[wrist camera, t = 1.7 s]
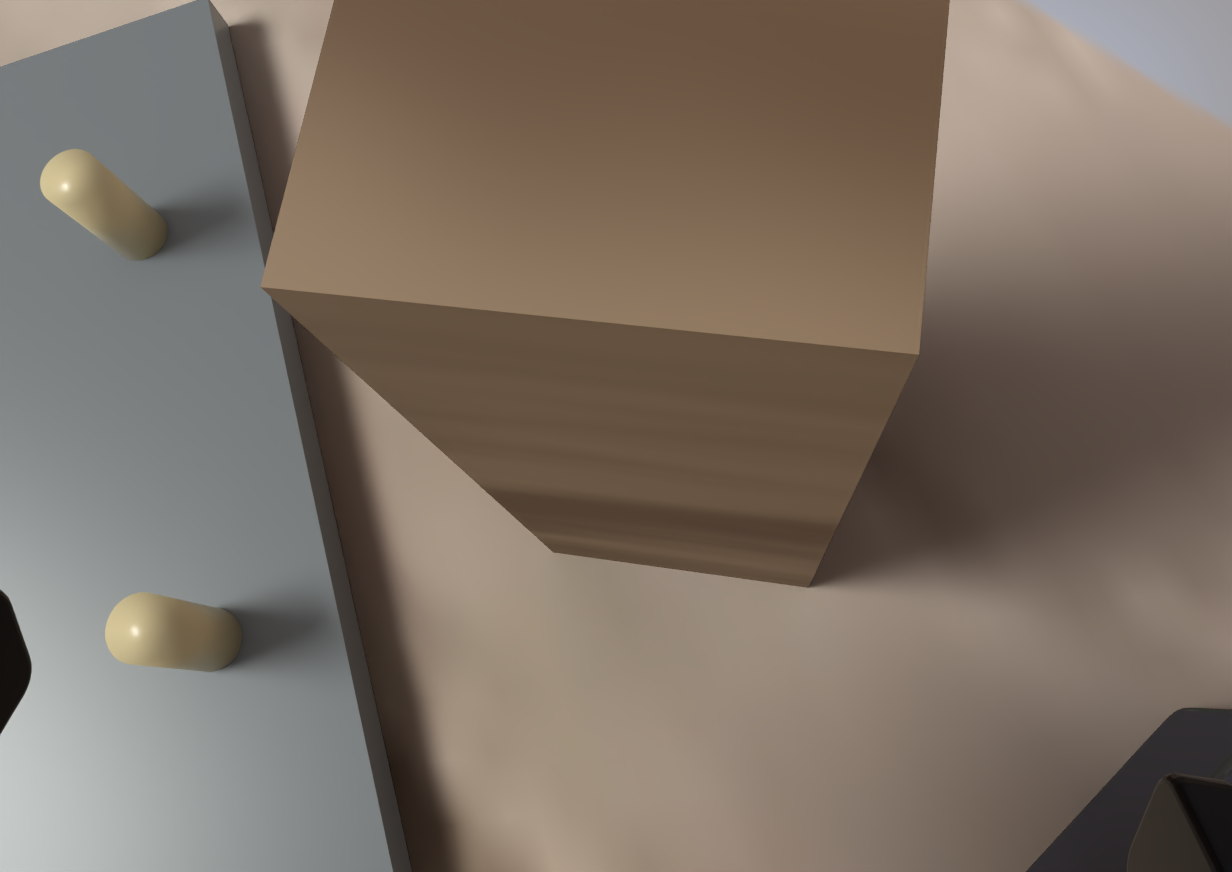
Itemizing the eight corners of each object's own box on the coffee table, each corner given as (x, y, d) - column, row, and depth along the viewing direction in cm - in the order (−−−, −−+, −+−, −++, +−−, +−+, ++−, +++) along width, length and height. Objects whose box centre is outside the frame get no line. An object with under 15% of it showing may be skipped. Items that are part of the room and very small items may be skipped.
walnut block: (808, 587, 20) (918, 355, 7) (553, 552, 21) (260, 287, 8) (834, 342, 21) (967, -215, 9) (593, 317, 22) (393, -226, 9)
